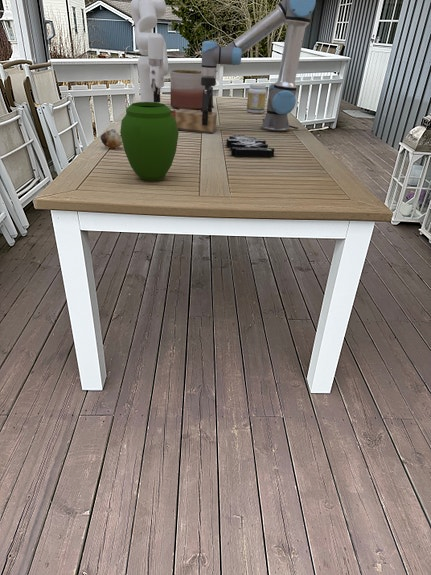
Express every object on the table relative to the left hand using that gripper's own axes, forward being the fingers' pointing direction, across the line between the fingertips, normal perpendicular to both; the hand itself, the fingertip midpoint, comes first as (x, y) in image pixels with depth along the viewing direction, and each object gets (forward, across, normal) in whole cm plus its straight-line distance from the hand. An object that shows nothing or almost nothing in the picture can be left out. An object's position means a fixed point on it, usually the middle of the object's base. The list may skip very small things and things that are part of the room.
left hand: (157, 102), depth 217 cm
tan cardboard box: (+12, -1, -22) cm, 25 cm away
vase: (+10, -88, -25) cm, 93 cm away
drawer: (+11, -1, -9) cm, 14 cm away
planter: (+14, +70, -1) cm, 71 cm away
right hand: (+8, 0, -28) cm, 29 cm away
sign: (+11, -32, -53) cm, 63 cm away
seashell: (+11, -53, +4) cm, 55 cm away
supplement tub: (+14, +73, -47) cm, 88 cm away
